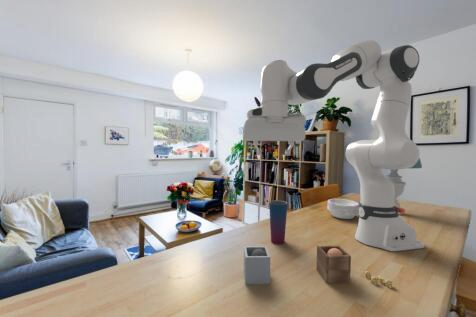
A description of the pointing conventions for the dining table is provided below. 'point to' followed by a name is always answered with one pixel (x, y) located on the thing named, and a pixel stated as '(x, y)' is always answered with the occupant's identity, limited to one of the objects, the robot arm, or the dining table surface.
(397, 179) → the table lamp
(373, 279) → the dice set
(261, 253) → the charcoal ball
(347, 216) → the white purple floral bowl
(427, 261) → the dining table surface
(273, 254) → the dining table surface
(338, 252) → the terracotta ball
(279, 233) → the cup
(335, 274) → the walnut tube
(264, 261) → the grey square open box
